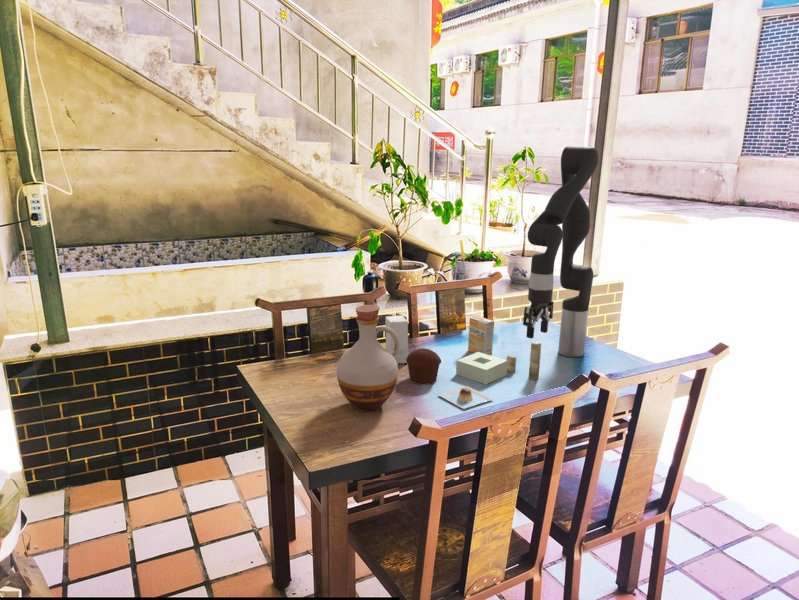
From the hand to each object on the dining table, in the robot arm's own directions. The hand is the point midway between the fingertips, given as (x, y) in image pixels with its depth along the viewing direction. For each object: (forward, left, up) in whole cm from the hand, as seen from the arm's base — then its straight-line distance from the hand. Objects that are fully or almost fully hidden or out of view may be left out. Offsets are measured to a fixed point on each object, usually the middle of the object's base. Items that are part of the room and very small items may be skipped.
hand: (536, 335), depth 195 cm
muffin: (+27, -25, -15) cm, 40 cm away
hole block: (+10, -14, -15) cm, 23 cm away
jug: (+53, -23, -15) cm, 60 cm away
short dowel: (0, -9, -15) cm, 18 cm away
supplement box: (-7, -27, -15) cm, 32 cm away
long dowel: (0, 0, -15) cm, 15 cm away
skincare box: (+21, -43, -15) cm, 50 cm away
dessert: (+29, -6, -16) cm, 34 cm away
